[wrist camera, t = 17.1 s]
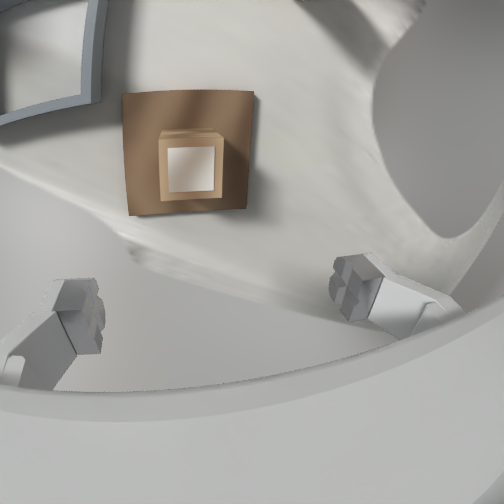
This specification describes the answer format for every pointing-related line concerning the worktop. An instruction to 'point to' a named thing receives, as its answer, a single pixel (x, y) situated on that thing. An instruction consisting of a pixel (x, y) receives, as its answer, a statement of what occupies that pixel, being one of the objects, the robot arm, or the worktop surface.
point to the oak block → (190, 164)
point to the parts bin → (89, 68)
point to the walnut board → (185, 117)
